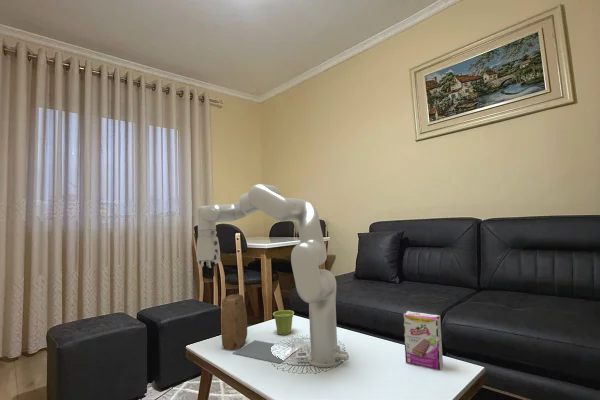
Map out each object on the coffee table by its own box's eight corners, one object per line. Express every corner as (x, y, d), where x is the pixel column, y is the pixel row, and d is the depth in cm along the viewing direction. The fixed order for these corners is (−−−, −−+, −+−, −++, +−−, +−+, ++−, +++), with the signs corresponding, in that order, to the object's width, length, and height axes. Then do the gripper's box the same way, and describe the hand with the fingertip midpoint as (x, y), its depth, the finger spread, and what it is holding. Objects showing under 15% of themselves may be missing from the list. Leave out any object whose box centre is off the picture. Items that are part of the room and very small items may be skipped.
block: (235, 351, 126) (234, 299, 127) (219, 349, 128) (218, 298, 129) (250, 341, 136) (248, 293, 137) (235, 339, 138) (233, 292, 139)
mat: (299, 348, 126) (299, 348, 126) (280, 363, 113) (280, 363, 113) (254, 340, 136) (254, 340, 136) (232, 353, 124) (232, 353, 124)
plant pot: (272, 330, 148) (271, 311, 148) (293, 328, 150) (292, 309, 150) (274, 337, 139) (274, 317, 139) (296, 335, 140) (295, 314, 141)
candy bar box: (405, 363, 109) (402, 314, 110) (409, 358, 113) (406, 310, 114) (440, 371, 103) (437, 318, 104) (443, 365, 107) (440, 314, 108)
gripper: (227, 233, 141) (228, 276, 140) (200, 233, 148) (201, 274, 147) (214, 234, 134) (216, 279, 133) (187, 234, 142) (188, 277, 141)
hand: (208, 276), depth 140 cm, fingers open, 2 cm apart
